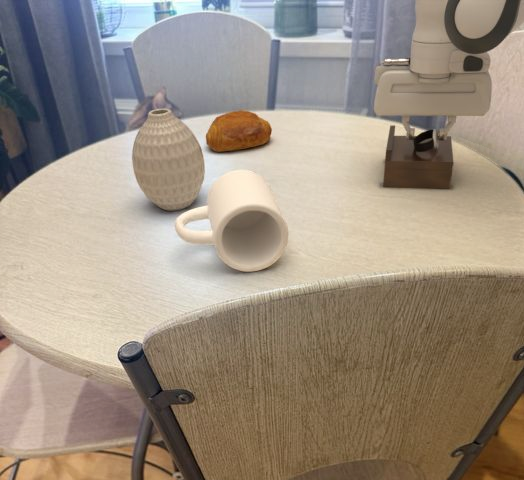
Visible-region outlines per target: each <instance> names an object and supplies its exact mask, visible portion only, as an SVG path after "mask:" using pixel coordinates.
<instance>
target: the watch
mask: <svg viewBox="0 0 524 480" xmlns="http://www.w3.org/2000/svg"><path fill="white" fill-rule="evenodd" d="M415 136H416V137H415V138H414V140H413V142H414V147H415V151H417V152H425V151H428V150H430V149H432V148H433V147H435V148H438V146H439V140H438V136H439V130H438V129H435V128H433V129H428V130H425V131H423V132H420V133H419V134H417V135H415ZM430 138H433V139H432V140H430V141H428V142H426V143H420V142H422V141H424V140H426V139H430ZM419 143H420V144H419Z"/></svg>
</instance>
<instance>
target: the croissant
mask: <svg viewBox="0 0 524 480" xmlns="http://www.w3.org/2000/svg"><path fill="white" fill-rule="evenodd" d="M272 131H273V128H272V125H271V124H270V122H269V121H268V120H265V119H264V118H263V117H260V116H259V115H258V114H257V113H256V112H251V111H249V110H241V109H240V110H235V111H234V110H233V111H230V112H226V113H223V114H221V115H218V116H216V117H215V118H214V120H213V121H212V122H211V124H210V126H209V127H208V130H207V132H206V134H205V142H206V145H207V146H208V147H209V148H210V149H211V150H212V151H214V152H217V153H219V152H221V153H223V152H231V151H238V150H245V149H249V148H255V147H258V146H261V145H264V144H266V143H267V142H268V141H270V139H271V135H272Z"/></svg>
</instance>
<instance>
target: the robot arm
mask: <svg viewBox="0 0 524 480" xmlns="http://www.w3.org/2000/svg"><path fill="white" fill-rule="evenodd" d="M414 12H415V27H414V30H413V33H412V36H411V43H410V45H411V46H410V56H409V57H401V58H383V61H380V62H378V63H377V64H376V66H375V67H374V70H373V71H374V72H373V73H374V74H373V81H374V85H375V86H376V91H375V96H374V102H373V112H374V114H375V115H376V116H378V117H401V123H402V126H403V128H404V130H405V131H406V133H405V136H406V140H414V136H415V132H416V127H411V126H410V123H409V122H410V118H411V117H447V123H446V125H445V126H444V127H441V128H439V130H438V140H441V141H446V140H447V136H448V133H449V132H450V130H451V129H452V128H453V126H454V125H455V124H456V121H457V117H484V116H486V115H487V114H488V112H489V111H490V108H491V101H492V92H493V91H492V90H493V89H492V88H493V82H492V77H491V75H490V72H489V69H490V66H491V62H492V61H491V60H492V59H491V56H490V54H489V53H488V52H490V51H492V50H494V49H496V48H497V47H498V46H499V45H501V44H502V43H503V42H504V41H505V39H506V38H507V37H508V36H509V35H511V34H512V33H513V32H515V31H516V30H517V29H518V28H519V27H520V26H522V25H523V24H524V0H415V6H414Z"/></svg>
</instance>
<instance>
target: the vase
mask: <svg viewBox="0 0 524 480" xmlns="http://www.w3.org/2000/svg"><path fill="white" fill-rule="evenodd" d="M131 162H132V169H133V174H134V177H135V180H136V182H137V184H138V187H139V189H140V190H141V191H142V192H143V193H144V195H145V197H147V199H148V200H150V202H152V203H153V204H154V205H155V206H157V207H158V208H159V209H161V210H163V211H169V212H171V211H172V212H173V211H175V212H176V211H181V210H183V209H187V208H188V207H190V206H191V205H192V204H193V203H194V202H195V200H196V198H197V197H198V196H199V194H200V191H201V189H202V186H203V184H204V180H205V174H206V173H205V172H206V170H205V168H206V166H205V159H204V153H203V149H202V146H201V144H200V142H199V141H198V139H197V137H196V135H195V134H194V132H193V131H192V130H191V128H190V127H189V126H188V125H186V123H184V122H183V121H182V120H181V119H180V118H178V117H177V116H175V115H174V114H173V111H172V110H171V109H169V108H157V109H152V110H150V111H149V112H147V118H146V120H145V121H144V122H143V124H142V125H141V126H140V128H139V130H138V131H137V133H136V136H135V139H134V141H133V147H132V152H131Z"/></svg>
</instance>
